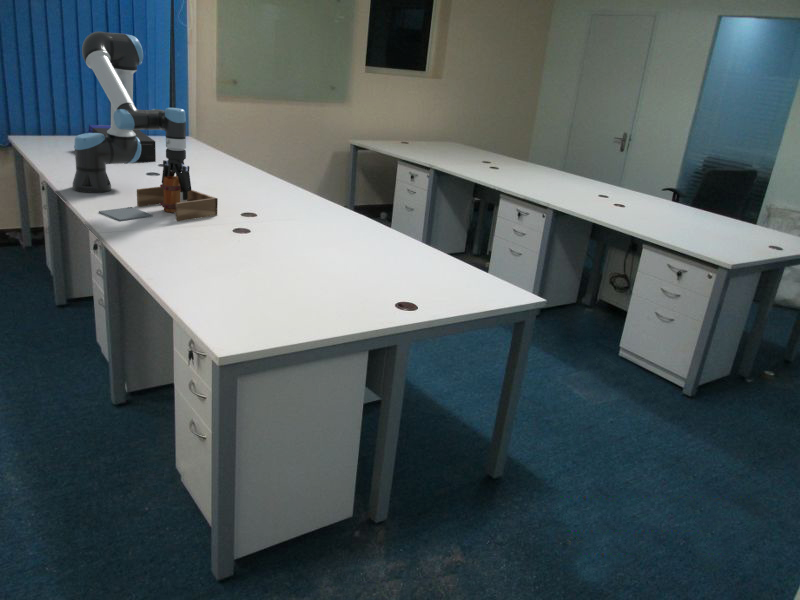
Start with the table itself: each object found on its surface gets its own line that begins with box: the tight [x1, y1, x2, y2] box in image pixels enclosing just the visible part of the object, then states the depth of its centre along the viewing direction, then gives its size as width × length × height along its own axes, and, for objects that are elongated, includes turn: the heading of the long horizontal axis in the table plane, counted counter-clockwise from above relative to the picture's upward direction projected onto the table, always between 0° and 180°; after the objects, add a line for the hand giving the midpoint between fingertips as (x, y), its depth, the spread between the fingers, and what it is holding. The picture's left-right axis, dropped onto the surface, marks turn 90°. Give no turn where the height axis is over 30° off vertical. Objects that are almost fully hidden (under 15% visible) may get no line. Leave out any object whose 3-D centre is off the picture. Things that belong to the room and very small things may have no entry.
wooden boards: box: [136, 186, 219, 222], centre depth 263 cm, size 26×19×7 cm
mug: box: [159, 174, 182, 214], centre depth 262 cm, size 15×8×15 cm, turn 168°
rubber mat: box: [98, 206, 153, 222], centre depth 251 cm, size 14×14×1 cm
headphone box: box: [88, 124, 157, 163], centre depth 352 cm, size 25×35×14 cm
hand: (176, 204), depth 263 cm, fingers closed on mug, 9 cm apart
